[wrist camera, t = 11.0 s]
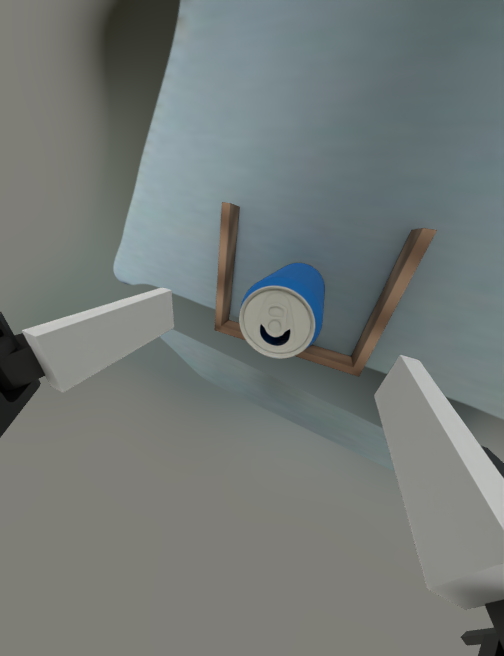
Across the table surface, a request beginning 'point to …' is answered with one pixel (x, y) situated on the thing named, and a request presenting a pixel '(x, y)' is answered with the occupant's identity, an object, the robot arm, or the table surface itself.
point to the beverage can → (284, 311)
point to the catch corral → (349, 364)
